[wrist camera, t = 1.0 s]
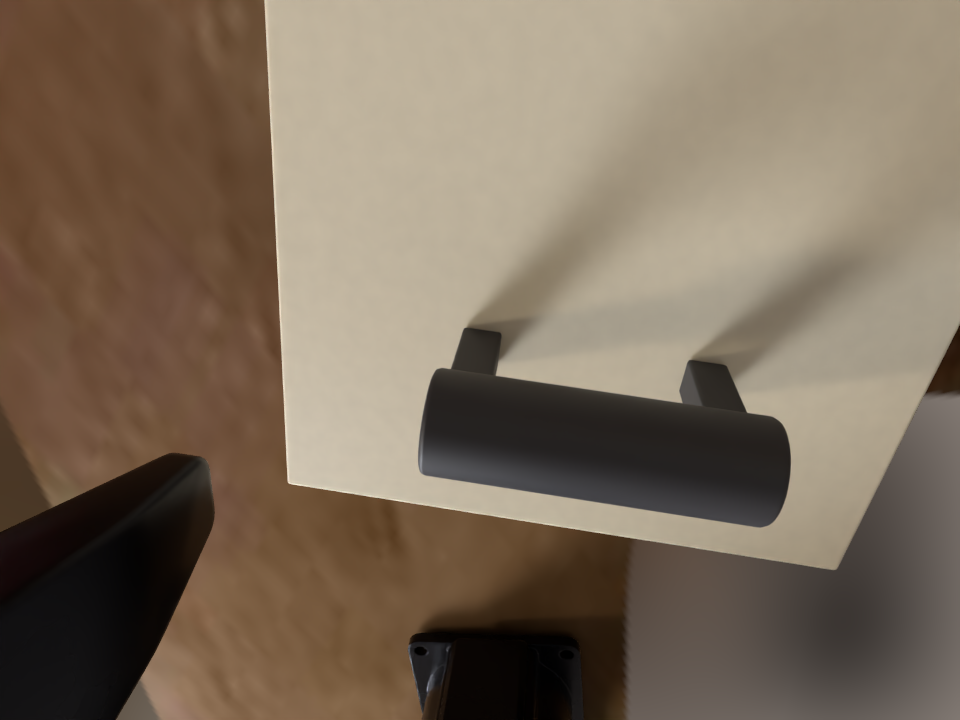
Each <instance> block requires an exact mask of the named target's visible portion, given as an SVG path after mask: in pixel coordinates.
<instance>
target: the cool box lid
mask: <svg viewBox="0 0 960 720" xmlns="http://www.w3.org/2000/svg"><path fill="white" fill-rule="evenodd" d="M265 18H266V39H267V59H268V80H269V101H270V122H271V142H272V163H273V184H274V205H275V225H276V246H277V267H278V288H279V308H280V329H281V350H282V371H283V391H284V412H285V433H286V454H287V474H288V483H290V484H294V485H301V486H307V487H313V488H320V489H326V490H332V491H338V492H345V493H351V494H357V495H364V496H370V497H376V498H383V499H389V500H395V501H401V502H408V503H414V504H420V505H427V506H433V507H439V508H446V509H452V510H458V511H465V512H471V513H477V514H483V515H490V516H496V517H502V518H509V519H515V520H521V521H528V522H534V523H540V524H547V525H553V526H559V527H565V528H572V529H578V530H584V531H591V532H597V533H603V534H610V535H616V536H622V537H629V538H635V539H641V540H648V541H654V542H660V543H667V544H673V545H679V546H685V547H692V548H698V549H704V550H711V551H717V552H723V553H730V554H736V555H743V556H749V557H755V558H761V559H768V560H774V561H780V562H786V563H793V564H799V565H805V566H811V567H818V568H824V569H830V570H836V569H837V568H838V566H839V564H840V562H841V560H842V558H843V556H844V554H845V552H846V550H847V548H848V546H849V544H850V542H851V540H852V538H853V536H854V534H855V532H856V530H857V528H858V526H859V524H860V522H861V520H862V518H863V516H864V514H865V512H866V510H867V508H868V506H869V504H870V502H871V500H872V498H873V496H874V494H875V492H876V490H877V488H878V486H879V484H880V482H881V480H882V478H883V476H884V474H885V472H886V470H887V468H888V466H889V464H890V462H891V460H892V458H893V456H894V455H895V452H896V451H897V449H898V447H899V444H900V443H901V441H902V438H903V437H904V435H905V433H906V431H907V429H908V427H909V425H910V422H911V420H912V419H913V417H914V415H915V413H916V411H917V409H918V407H919V405H920V403H921V401H922V399H923V397H924V395H925V393H926V391H927V389H928V387H929V385H930V383H931V381H932V379H933V377H934V375H935V373H936V371H937V369H938V367H939V365H940V363H941V361H942V359H943V357H944V355H945V353H946V351H947V349H948V347H949V345H950V343H951V341H952V339H953V337H954V335H955V333H956V331H957V329H958V327H959V325H960V0H265Z"/></svg>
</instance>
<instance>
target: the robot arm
mask: <svg viewBox="0 0 960 720" xmlns="http://www.w3.org/2000/svg"><path fill="white" fill-rule="evenodd" d="M214 514H215V512H214V501H213V493H212V484H211V476H210V469H209V465H208V463H207V461H206V460H205V459H204V458H202V457H200V456H193V455H187V454H180V453H169V454H166V455H164V456H162V457H159V458H157V459H155V460H153V461H151V462H149V463H147V464H145V465H142V466H140V467H138V468H136V469H134V470H132V471H130V472H127V473H125V474H123V475H121V476H119V477H117V478H115V479H113V480H110V481H108V482H106V483H104V484H102V485H100V486H98V487H96V488H93V489H91V490H89V491H87V492H85V493H83V494H81V495H78V496H76V497H74V498H72V499H70V500H68V501H66V502H64V503H61V504H59V505H57V506H55V507H53V508H51V509H49V510H47V511H45V512H42V513H40V514H38V515H36V516H34V517H32V518H30V519H27V520H25V521H23V522H21V523H19V524H17V525H15V526H13V527H10V528H8V529H6V530H4V531H2V532H0V720H116V719H117V717H118V715H119V713H120V712H121V710H122V709H123V706H124V705H125V703H126V702H127V700H128V698H129V697H130V695H131V693H132V691H133V690H134V688H135V686H136V685H137V683H138V681H139V680H140V678H141V676H142V674H143V673H144V671H145V669H146V667H147V666H148V664H149V662H150V660H151V658H152V657H153V655H154V653H155V651H156V649H157V647H158V645H159V643H160V641H161V639H162V637H163V635H164V633H165V631H166V629H167V627H168V625H169V622H170V620H171V618H172V616H173V613H174V611H175V609H176V607H177V605H178V602H179V600H180V598H181V596H182V594H183V591H184V589H185V587H186V585H187V583H188V580H189V578H190V576H191V574H192V572H193V569H194V567H195V565H196V563H197V561H198V558H199V556H200V554H201V552H202V550H203V547H204V545H205V543H206V541H207V539H208V536H209V534H210V532H211V529H212V526H213V522H214ZM408 652H409V657H410V661H411V665H412V670H413V674H414V678H415V683H416V687H417V692H418V696H419V700H420V705H421V709H422V713H423V715H422V720H584V711H583V693H582V674H581V655H580V645H579V642H578V641H577V640H576V639H573V638H571V637H562V636H520V635H477V634H434V633H419V634H415V635H413V636H412V637H411V638H410V643H409V647H408Z"/></svg>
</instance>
